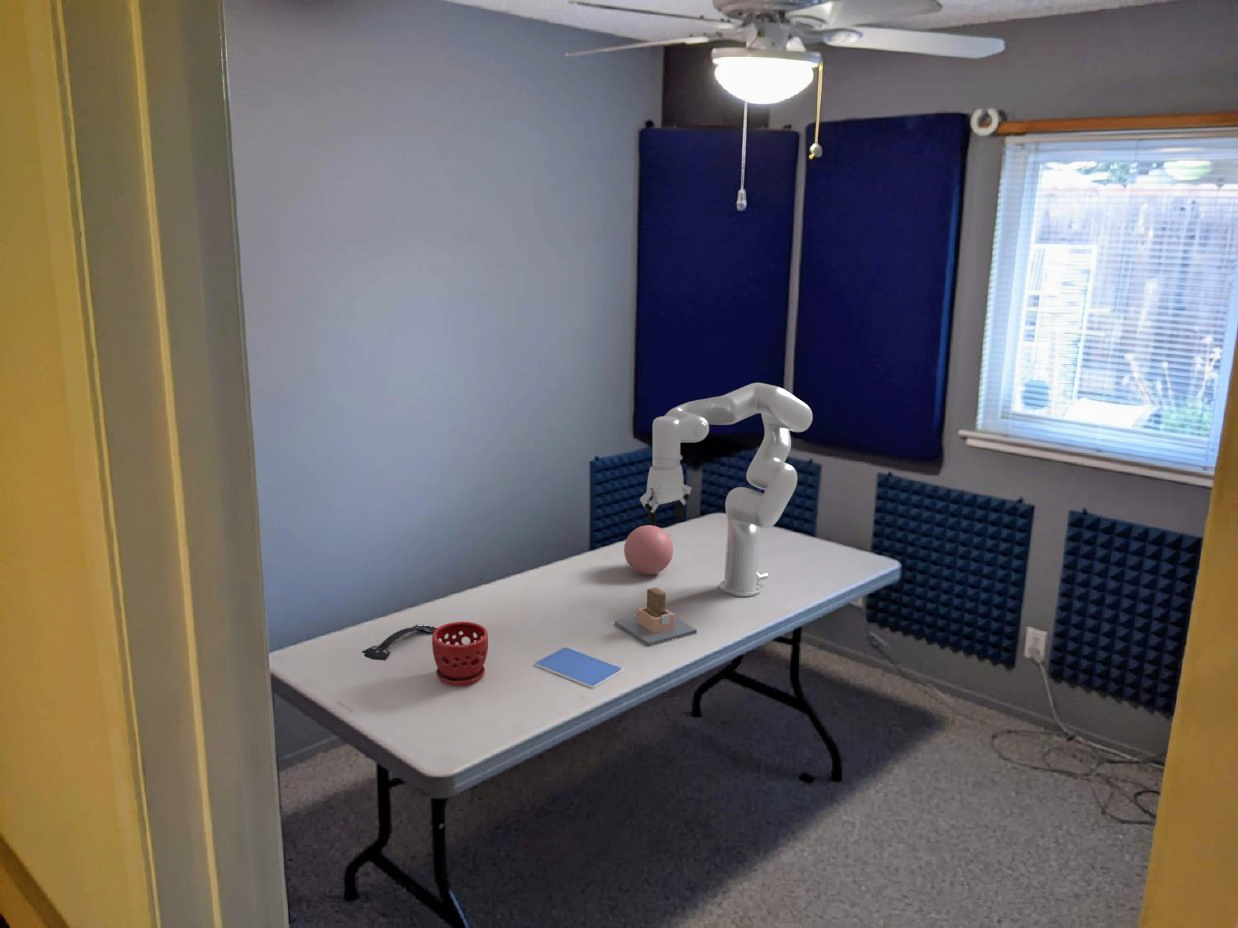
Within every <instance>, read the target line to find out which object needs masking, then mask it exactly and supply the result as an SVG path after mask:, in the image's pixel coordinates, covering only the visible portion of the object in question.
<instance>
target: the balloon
mask: <svg viewBox="0 0 1238 928" xmlns="http://www.w3.org/2000/svg"><path fill="white" fill-rule="evenodd" d="M623 551H624V552H623V553H624V559H625V560H626V563H627V564H628V565H629V566H630V568H631V569H632V570H634V571H635V572H637V573H639V574H643V575H647V576H648V575H656V574H658V573H660V572H663V571H664V570H665V569H666V568H667V567H668V566H669V565H670V563H671V561H672V558H673V556H674V555H673V554H674V545H673V541H672V539H671V534H670V533H667V532H666V531H665V529H663V528H662V527H658V526H657V525H656V526H653V525H650V524H649V525H642V526H638V527H637V528H635V529H634V530H632V531H631V532H630V533H629V534H628V536H627V537H626V540H625V542H624V546H623Z"/></svg>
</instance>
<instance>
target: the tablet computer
mask: <svg viewBox="0 0 1238 928" xmlns="http://www.w3.org/2000/svg"><path fill="white" fill-rule="evenodd" d="M533 666H534V667H537V668H539V669H542V670H545V671H547V672H550V673H552V674H554V675H557V676H559V677H562V678H565V679H566V680H570V681H572V682H575V683H577V684H579V685H582V686H584V687H586V686H587V687H586V688H588V687H589V689H591V688H592V689H594V688H595V689H597V688H598V687H600V686H602V685H603V684H605V683H606V682H605V681H607V682H609V681H610V680H612V679H613V678H612V677H614V676H615V677H617V676H619V675H620V674H621V673H620V672H622V671H623V672H624V669H623V667H620V666H617V665H615V664H613V663H610V662H606V661H604V660H601V659H598V658H596V657H593V656H591V655H587V654H585V653H582V652H580V651H577V650H574V649H572V648H569V647H566V646H565V647H562V648H559V649H558V650H556V651H554V652H553V653H551V654H548V655H547V656H545V657H542V658H541V659H540V660H537V661H536V662H534V665H533ZM623 672H622V673H623ZM619 673H620V674H619ZM618 674H619V675H618ZM616 675H617V676H616ZM615 677H614V678H615ZM611 678H612V679H611ZM609 679H610V680H609ZM604 682H605V683H604ZM601 684H602V685H601ZM596 687H597V688H596ZM592 689H591V690H592Z"/></svg>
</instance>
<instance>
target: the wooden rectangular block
mask: <svg viewBox="0 0 1238 928" xmlns="http://www.w3.org/2000/svg"><path fill="white" fill-rule="evenodd" d="M646 591H647V592H646V607H647V610H646V613H648V614H650V615H652V616H653V617H655V618H657V617H661V615H665V609H666V601H667V600H666V598H667V596H666V595H667V593H666V592H665V591H663V590H662V589H660V588H659V587H651V588H647V589H646Z"/></svg>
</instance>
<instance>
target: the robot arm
mask: <svg viewBox="0 0 1238 928" xmlns="http://www.w3.org/2000/svg"><path fill="white" fill-rule="evenodd" d="M757 414H760V415H761V418H762V423H763V427H764V436H763V440H762V442H761V444H760V446H759V448H758V450H757V452H756V454H755V455H754V457H753V459H752V461H751V462H750V465H749V466H748V469H747V471H746V480H747V482H748V483H749V484H750V485H752V486H753V487H755V488H758V489H760V490H764V493H762V492H761V491H760V492H759V491H757V490H755V489H752V488H748V487H743V486H740V487H735V488H733V489H731V490H730V491H729V492H728V494H727V496H726V499H725V503H724V504H725V515H726V523H727V526H726V527H727V528H726V529H727V530H726V548H725V549H726V550H725V562H724V563H725V565H724V580H721V581H720V582H719V584H718V589H719V590H720V591H721V592H722V593H724V594H727V595H729V596H734V597H743V598H745V597H752V596H756V595H758V594H759V593H761V592H762V586H761V585H760V582H761V581H764V580H767V579H768V578H769V575H768V572H767V573H766V572H763V573H759V572H758V558H759V543H760V529H759V528H761V529H770V528H772V527H773V526H774V525H775V524H777V522H778V521H779V519H780V518H781V516H782V514H783V512H784V510H785V509H786V506H787V505H788V503H789V501H790V500H791V498H792V496H793V495H794V492H795V490H796V488H797V484H798V473H797V470H796V469H795V467H794V466H792V465H791V464H789V463H787V462H786V459H787V458H788V455H789V454H790V450H791V447H792V444H791V443H792V439H791V435H790V434H791V433H790V431H791V432H794V433H802V432H805V431H807V430H808V429H809V427H810V426H811V424H812V422H813V418H814V417H813V412H812V409H811V408H810V407H809V405H808V404H807V403H805V402H804V401H802V400H800V399H799V398H797V397H796V396H795V395H794V394H792V393H791V392H789V391H787V390H786V389H784V388H782V387H780V386H778V385H777V386H776V385H772V384H767V383H763V382H754V383H750V384H748V385H745V386H743V387H742V386H741V387H740V388H738V389H735V390H733V391H730V392H728V393H726V394H724V395H723V394H722V395H720V396H714V397H708V398H703V399H697V400H693V401H688V402H685V403H683V404H680V405H678V406H676V407H673V408H671V409H670V410H669V411H667V413H666V414H665V415H664V416H663V415H662V416H658V417H656V418H655V419H653V422H652V466H650V467H649V470H648V471H649V472H648V474H647V475H648V476H647V483H646V492H645V493H644V494H643V495H642V496H641V497H639V501H640V503H641V504H642V507H643V508H644V509H645V511H646V512H647V523H648V524H649V525H652V526H656V527H657V524H658V520H657V517H658V515H657V512H656V510H657V508H658V507H659V506H660V505H665V504H669V503H673V502H675V504H674V516H675V517H676V518H679V519H680V520H683V519H685V505H686V504H687V501H688V499H689V498H690V494H691V491H692V487H691V486H689V485H686V484H685V483H684V473H683V472H684V471H683V467H682V464H681V460H683V455H682V454H681V443H699V442H701V441H703V440H705V438H706V437H707V436H708V434H709V431H710V425H717V426H718V425H719V426H724V425H725V426H726V425H727V426H728V425H733V424H736V423H738V422H740V421H742V420H744V419H747V418H750V417H752V416H754V415H757Z"/></svg>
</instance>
